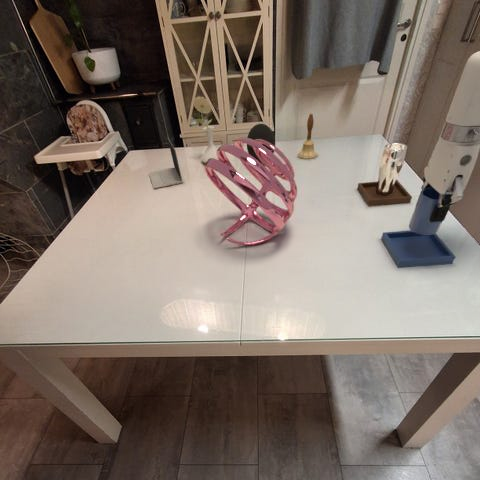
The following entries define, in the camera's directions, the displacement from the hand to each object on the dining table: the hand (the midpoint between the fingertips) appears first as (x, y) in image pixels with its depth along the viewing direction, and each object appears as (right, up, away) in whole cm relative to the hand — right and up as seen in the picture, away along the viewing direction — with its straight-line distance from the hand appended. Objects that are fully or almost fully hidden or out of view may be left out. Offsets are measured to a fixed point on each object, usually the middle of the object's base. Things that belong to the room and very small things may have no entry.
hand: (429, 212), depth 74 cm
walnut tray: (+3, +17, +30) cm, 35 cm away
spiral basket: (-42, +1, +22) cm, 47 cm away
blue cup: (0, -3, +3) cm, 4 cm away
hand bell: (-16, +48, +61) cm, 80 cm away
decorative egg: (-37, +44, +61) cm, 84 cm away
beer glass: (+3, +17, +30) cm, 35 cm away
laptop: (-80, +36, +58) cm, 105 cm away
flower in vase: (-60, +49, +68) cm, 103 cm away
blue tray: (+1, -7, +8) cm, 11 cm away
